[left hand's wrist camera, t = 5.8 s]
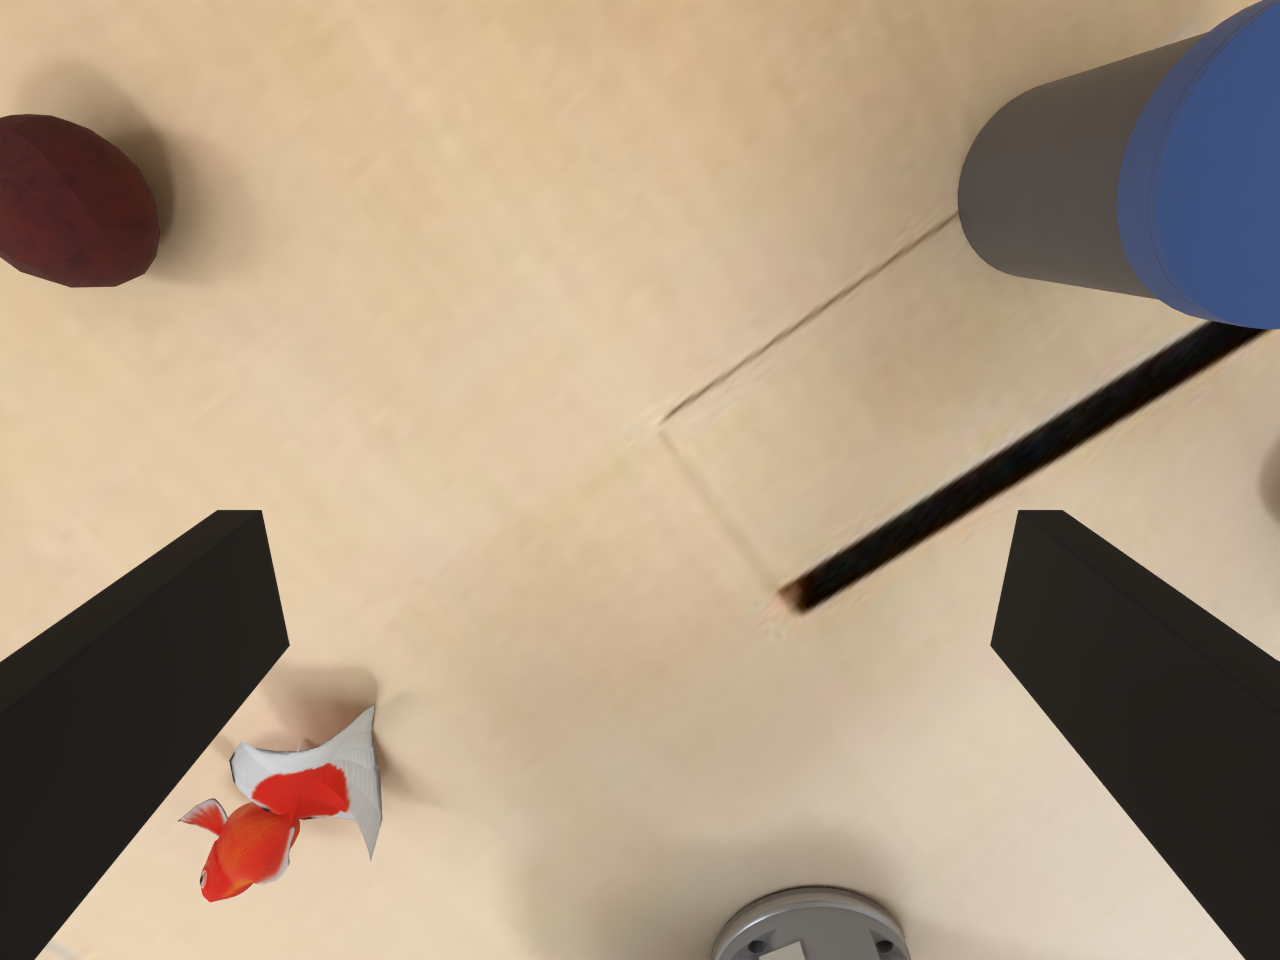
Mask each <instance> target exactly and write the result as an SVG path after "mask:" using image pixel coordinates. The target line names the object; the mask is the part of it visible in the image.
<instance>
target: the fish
mask: <svg viewBox="0 0 1280 960" xmlns="http://www.w3.org/2000/svg"><path fill="white" fill-rule="evenodd" d="M374 709H375V704H374V705H372V706H371V707H369V708H368V709H366V710H365V711H364V712H363V713H362V714H360V715H359V716H358V717H357V718H356V719H355V720H354V721H353V722H352V723H351V724H350V725H349V726H348V727H347V728H345V729H344V730H342V731H341V732H340V733H338V734H337V735H336V736H334V737H333V738H331V739H330V740H328V741H327V742H325V743H324V744H322V745H321V746H319V747H318V748H313V749H308V750H304V751H300V748H301V744H302V741H301V742H300V744H299V746H298V749H297V751H296V752H292V751H271V750H265V749H259V748H254V747H252V746H250V745H248V744H246V743H243V742H240V744H239V746H238V747H237V749H236V750H235V752H234V754H233V755H232V757H231V759H230V760H229V761H230V766H231V771H232V776H233V781H234V783H235V784H236V786H237V787H238V788H239V790H240V791H241V792H242V793H243V794H244V795H245V796H247V797H248V798H249V799H250V800H251V801H253V802H250V803H247V804H245V805H243V806H241V807H240V808H238V809H237V810H235V811H234V812H233V813H232V814H231V815H230V816H229V818H228V817H227V815H226V813H225V811H224V809H223V808H222V806H221V805H220V803H219V802H218V801H217V800H216V799H213V798H212V799H209V800H207V801H205V802H203V803H201V804H198V805H196V806H195V807H194V808H193V809H191V810H190V811H189V812H188V813H187V814H186V815H185V816H183V817H182V818H181V819H180V820H178V821H182V822H185V823H188V824H193V825H197V826H199V827H202V828H205V829H208V830H209V831H211V832H213V833H214V834H216V835H217V836H219V838H218V840H216V841H215V842H214V844H213V846H212V849H211V852H210V854H209V857H208V859H207V861H206V864H205V866H204V868H203V870H202V873H201V878H200V886H201V889H202V894H203V896H204V897H205V898H206V899H207V900H208V901H209V902H214V901H218V900H223V899H227V898H230V897H234V896H237V895H239V894H241V893H242V892H244V891H245V890H247V889H248V888H249V887H250V886H251V885H252V884H253V883H256V884H259V885H260V884H268V883H271V882H274V881H276V880H277V879H278V878H279V877H281V876H282V874H283V873H284V871H285V870H286V868H287V867H288V865H289V862H290V861H289V851H290V849H291V847H292V845H293V844H294V842H295V840H296V838H297V836H298V834H299V831H300V821H299V819H303V820H305V819H313V818H321V817H328V816H332V817H338V818H344V819H352V820H353V821H354V822H355V823H356V824H357V825H358V827H359V829H360V830H361V832H362V834H363V836H364V839H365V842H366V845H367V848H368V851H369V856H370V862H371V858H372V855H373V851H374V847H375V844H376V840H377V837H378V833H379V829H380V826H381V822H382V804H381V784H380V774H379V769H378V763H377V758H376V753H375V747H374V741H373V735H372V726H373V720H374Z"/></svg>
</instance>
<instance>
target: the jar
mask: <svg viewBox="0 0 1280 960" xmlns="http://www.w3.org/2000/svg"><path fill="white" fill-rule="evenodd" d="M1207 33H1208V32H1207ZM1207 33H1204V34H1201V35H1198V36H1195V37H1192V38H1188V39H1185V40H1182V41H1179V42H1176V43H1173V44H1170V45H1167V46H1163V47H1160V48H1157V49H1154V50H1151V51H1148V52H1145V53H1142V54H1138V55H1135V56H1132V57H1129V58H1126V59H1123V60H1120V61H1117V62H1114V63H1110V64H1107V65H1104V66H1101V67H1098V68H1095V69H1092V70H1089V71H1085V72H1082V73H1079V74H1076V75H1073V76H1070V77H1067V78H1064V79H1060V80H1057V81H1054V82H1051V83H1048V84H1045V85H1042V86H1039V87H1036V88H1033V89H1031V90H1029V91H1027V92H1025V93H1023V94H1021V95H1019V96H1018V97H1016V98H1014V99H1013V100H1011V101H1010V102H1009V103H1007V104H1006V105H1005V106H1004V107H1002V108H1001V109H1000V110H999V111H998V112H997V113H996V114H995V115H994V116H993V117H992V118H991V119H990V120H989V121H988V123H987V124H986V125H985V126H984V127H983V129H982V130H981V131H980V133H979V135H978V136H977V138H976V139H975V141H974V143H973V145H972V147H971V149H970V151H969V153H968V155H967V157H966V160H965V163H964V166H963V169H962V173H961V177H960V182H959V190H958V208H959V215H960V220H961V224H962V228H963V230H964V233H965V235H966V237H967V239H968V241H969V243H970V244H971V246H972V248H973V249H974V250H975V251H976V253H977V254H978V255H979V256H980V257H981V258H982V259H983V260H984V261H986V262H987V263H988V264H989V265H991V266H993V267H994V268H996V269H998V270H1000V271H1002V272H1005V273H1007V274H1011V275H1015V276H1019V277H1025V278H1031V279H1037V280H1044V281H1050V282H1056V283H1062V284H1068V285H1074V286H1080V287H1086V288H1092V289H1098V290H1104V291H1111V292H1117V293H1123V294H1129V295H1135V296H1141V297H1147V298H1153V299H1158V298H1157V297H1156V296H1155V295H1154V294H1152V293H1151V292H1150V291H1149V290H1148V289H1147V288H1146V287H1145V286H1144V284H1143V283H1142V282H1141V280H1140V279H1139V278H1138V277H1137V275H1136V274H1135V272H1134V270H1133V268H1132V267H1131V265H1130V263H1129V261H1128V259H1127V257H1126V254H1125V251H1124V248H1123V245H1122V242H1121V238H1120V233H1119V227H1118V220H1117V191H1118V181H1119V176H1120V170H1121V165H1122V160H1123V157H1124V154H1125V151H1126V148H1127V145H1128V142H1129V139H1130V136H1131V134H1132V132H1133V129H1134V127H1135V125H1136V123H1137V120H1138V118H1139V116H1140V114H1141V112H1142V111H1143V109H1144V107H1145V105H1146V104H1147V102H1148V100H1149V98H1150V97H1151V95H1152V94H1153V92H1154V91H1155V89H1156V88H1157V87H1158V85H1159V84H1160V82H1161V81H1162V79H1163V78H1164V77H1165V75H1166V74H1167V73H1168V72H1169V71H1170V69H1171V68H1172V67H1173V66H1174V65H1175V64H1176V63H1177V61H1178V60H1179V59H1180V58H1181V57H1182V56H1183V55H1184V54H1185V53H1186V52H1187V51H1188V50H1189V49H1190V48H1191V47H1192V46H1193V45H1194V44H1195V43H1196V42H1198V41H1199V40H1200V39H1201V38H1202V37H1203V36H1205V35H1206V34H1207Z"/></svg>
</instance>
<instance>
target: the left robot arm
mask: <svg viewBox="0 0 1280 960" xmlns="http://www.w3.org/2000/svg"><path fill="white" fill-rule="evenodd" d="M289 646H290V645H289V640H288V635H287V630H286V625H285V621H284V616H283V611H282V606H281V601H280V596H279V592H278V587H277V582H276V577H275V572H274V568H273V563H272V558H271V553H270V548H269V543H268V539H267V534H266V529H265V524H264V519H263V514H262V510H217V511H215V512H214V513H213V514H211V515H210V516H208V517H207V518H205V519H204V520H203V521H201V522H200V523H198V524H197V525H195V526H194V527H193V528H191V529H190V530H188V531H187V532H185V533H184V534H183V535H181V536H180V537H178V538H177V539H175V540H174V541H173V542H171V543H170V544H168V545H167V546H165V547H164V548H163V549H161V550H160V551H158V552H157V553H156V554H154V555H153V556H151V557H150V558H148V559H147V560H146V561H144V562H143V563H141V564H140V565H138V566H137V567H136V568H134V569H133V570H131V571H130V572H128V573H127V574H126V575H124V576H123V577H121V578H120V579H118V580H117V581H116V582H114V583H113V584H111V585H110V586H108V587H107V588H106V589H104V590H103V591H101V592H100V593H98V594H97V595H96V596H94V597H93V598H91V599H90V600H88V601H87V602H86V603H84V604H83V605H81V606H80V607H78V608H77V609H76V610H74V611H73V612H71V613H70V614H68V615H67V616H66V617H64V618H63V619H61V620H60V621H58V622H57V623H56V624H54V625H53V626H51V627H50V628H48V629H47V630H46V631H44V632H43V633H41V634H40V635H38V636H37V637H36V638H34V639H33V640H31V641H30V642H28V643H27V644H26V645H24V646H23V647H21V648H20V649H18V650H17V651H16V652H14V653H13V654H11V655H10V656H8V657H7V658H6V659H4V660H3V661H1V662H0V960H35V958H36V957H37V956H38V955H39V954H40V952H41V951H42V950H43V949H44V947H45V946H46V945H47V944H48V942H49V941H50V940H51V939H52V938H53V936H54V935H55V934H56V933H57V931H58V930H59V929H60V928H61V926H62V925H63V924H64V923H65V922H66V920H67V919H68V918H69V917H70V915H71V914H72V913H73V912H74V910H75V909H76V908H77V907H78V906H79V904H80V903H81V902H82V901H83V899H84V898H85V897H86V896H87V894H88V893H89V892H90V891H91V890H92V888H93V887H94V886H95V885H96V883H97V882H98V881H99V880H100V878H101V877H102V876H103V875H104V874H105V872H106V871H107V870H108V869H109V867H110V866H111V865H112V864H113V862H114V861H115V860H116V859H117V858H118V856H119V855H120V854H121V853H122V851H123V850H124V849H125V848H126V846H127V845H128V844H129V843H130V841H131V840H132V839H133V838H134V837H135V835H136V834H137V833H138V832H139V830H140V829H141V828H142V827H143V825H144V824H145V823H146V822H147V821H148V819H149V818H150V817H151V816H152V814H153V813H154V812H155V811H156V809H157V808H158V807H159V806H160V805H161V803H162V802H163V801H164V800H165V798H166V797H167V796H168V795H169V793H170V792H171V791H172V790H173V789H174V787H175V786H176V785H177V784H178V782H179V781H180V780H181V779H182V777H183V776H184V775H185V774H186V773H187V771H188V770H189V769H190V768H191V766H192V765H193V764H194V763H195V761H196V760H197V759H198V758H199V757H200V755H201V754H202V753H203V752H204V750H205V749H206V748H207V747H208V745H209V744H210V743H211V742H212V741H213V739H214V738H215V737H216V736H217V734H218V733H219V732H220V731H221V729H222V728H223V727H224V726H225V725H226V723H227V722H228V721H229V720H230V718H231V717H232V716H233V715H234V713H235V712H236V711H237V710H238V709H239V707H240V706H241V705H242V704H243V702H244V701H245V700H246V699H247V697H248V696H249V695H250V694H251V693H252V691H253V690H254V689H255V688H256V686H257V685H258V684H259V683H260V681H261V680H262V679H263V678H264V677H265V675H266V674H267V673H268V672H269V670H270V669H271V668H272V667H273V665H274V664H275V663H276V662H277V661H278V659H279V658H280V657H281V656H282V654H283V653H284V652H285V651H286V649H287V648H288V647H289ZM990 646H991V647H992V648H993V649H994V651H995V652H996V653H997V654H998V656H999V657H1000V658H1001V659H1002V661H1003V662H1004V663H1005V664H1006V665H1007V667H1008V668H1009V669H1010V670H1011V672H1012V673H1013V674H1014V675H1015V677H1016V678H1017V679H1018V680H1019V681H1020V683H1021V684H1022V685H1023V686H1024V688H1025V689H1026V690H1027V691H1028V693H1029V694H1030V695H1031V696H1032V697H1033V699H1034V700H1035V701H1036V702H1037V704H1038V705H1039V706H1040V707H1041V709H1042V710H1043V711H1044V712H1045V713H1046V715H1047V716H1048V717H1049V718H1050V720H1051V721H1052V722H1053V723H1054V725H1055V726H1056V727H1057V728H1058V729H1059V731H1060V732H1061V733H1062V734H1063V736H1064V737H1065V738H1066V739H1067V741H1068V742H1069V743H1070V744H1071V745H1072V747H1073V748H1074V749H1075V750H1076V752H1077V753H1078V754H1079V755H1080V757H1081V758H1082V759H1083V760H1084V761H1085V763H1086V764H1087V765H1088V766H1089V768H1090V769H1091V770H1092V771H1093V773H1094V774H1095V775H1096V776H1097V777H1098V779H1099V780H1100V781H1101V782H1102V784H1103V785H1104V786H1105V787H1106V789H1107V790H1108V791H1109V792H1110V793H1111V795H1112V796H1113V797H1114V798H1115V800H1116V801H1117V802H1118V803H1119V805H1120V806H1121V807H1122V808H1123V809H1124V811H1125V812H1126V813H1127V814H1128V816H1129V817H1130V818H1131V819H1132V821H1133V822H1134V823H1135V824H1136V825H1137V827H1138V828H1139V829H1140V830H1141V832H1142V833H1143V834H1144V835H1145V837H1146V838H1147V839H1148V840H1149V842H1150V843H1151V844H1152V845H1153V846H1154V848H1155V849H1156V850H1157V851H1158V853H1159V854H1160V855H1161V856H1162V858H1163V859H1164V860H1165V861H1166V862H1167V864H1168V865H1169V866H1170V867H1171V869H1172V870H1173V871H1174V872H1175V874H1176V875H1177V876H1178V877H1179V878H1180V880H1181V881H1182V882H1183V883H1184V885H1185V886H1186V887H1187V888H1188V890H1189V891H1190V892H1191V893H1192V894H1193V896H1194V897H1195V898H1196V899H1197V901H1198V902H1199V903H1200V904H1201V906H1202V907H1203V908H1204V909H1205V910H1206V912H1207V913H1208V914H1209V915H1210V917H1211V918H1212V919H1213V920H1214V922H1215V923H1216V924H1217V925H1218V926H1219V928H1220V929H1221V930H1222V931H1223V933H1224V934H1225V935H1226V936H1227V938H1228V939H1229V940H1230V941H1231V942H1232V944H1233V945H1234V946H1235V947H1236V949H1237V950H1238V951H1239V952H1240V954H1241V955H1242V956H1243V957H1244V958H1245V960H1280V661H1278V660H1276V659H1274V658H1273V657H1272V656H1270V655H1269V654H1267V653H1266V652H1264V651H1263V650H1262V649H1260V648H1259V647H1257V646H1256V645H1254V644H1253V643H1252V642H1250V641H1249V640H1247V639H1246V638H1244V637H1243V636H1242V635H1240V634H1239V633H1237V632H1236V631H1234V630H1233V629H1232V628H1230V627H1229V626H1227V625H1226V624H1224V623H1223V622H1222V621H1220V620H1219V619H1217V618H1216V617H1214V616H1213V615H1212V614H1210V613H1209V612H1207V611H1206V610H1204V609H1203V608H1202V607H1200V606H1199V605H1197V604H1196V603H1194V602H1193V601H1192V600H1190V599H1189V598H1187V597H1186V596H1184V595H1183V594H1182V593H1180V592H1179V591H1177V590H1176V589H1174V588H1173V587H1172V586H1170V585H1169V584H1167V583H1166V582H1164V581H1163V580H1162V579H1160V578H1159V577H1157V576H1156V575H1154V574H1153V573H1152V572H1150V571H1149V570H1147V569H1146V568H1144V567H1143V566H1142V565H1140V564H1139V563H1137V562H1136V561H1134V560H1133V559H1132V558H1130V557H1129V556H1127V555H1126V554H1124V553H1123V552H1122V551H1120V550H1119V549H1117V548H1116V547H1115V546H1113V545H1112V544H1110V543H1109V542H1107V541H1106V540H1105V539H1103V538H1102V537H1100V536H1099V535H1097V534H1096V533H1095V532H1093V531H1092V530H1090V529H1089V528H1087V527H1086V526H1085V525H1083V524H1082V523H1080V522H1079V521H1077V520H1076V519H1075V518H1073V517H1072V516H1070V515H1069V514H1067V513H1066V512H1065V511H1063V510H1018V514H1017V519H1016V524H1015V529H1014V534H1013V539H1012V543H1011V548H1010V553H1009V558H1008V563H1007V568H1006V572H1005V577H1004V582H1003V587H1002V592H1001V596H1000V601H999V606H998V611H997V616H996V621H995V625H994V630H993V635H992V640H991V645H990ZM712 960H911V959H910V955H909V952H908V949H907V946H906V943H905V941H904V938H903V935H902V932H901V930H900V928H899V926H898V924H897V923H896V921H895V920H894V919H893V917H892V916H891V915H890V914H889V913H888V912H887V911H886V910H885V909H884V908H882V907H881V906H879V905H878V904H877V903H875V902H873V901H871V900H870V899H867V898H865V897H863V896H861V895H858V894H855V893H852V892H848V891H844V890H839V889H832V888H801V889H793V890H788V891H784V892H780V893H776V894H773V895H770V896H767V897H765V898H762V899H760V900H758V901H756V902H754V903H752V904H750V905H749V906H747V907H746V908H744V909H742V910H741V911H740V912H738V913H737V914H736V915H735V916H734V917H733V918H732V919H730V921H729V922H728V923H727V924H726V925H725V926H724V928H723V929H722V930H721V932H720V934H719V935H718V937H717V939H716V942H715V944H714V948H713V952H712Z"/></svg>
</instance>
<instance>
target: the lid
mask: <svg viewBox="0 0 1280 960" xmlns="http://www.w3.org/2000/svg"><path fill="white" fill-rule="evenodd" d="M1117 220H1118V227H1119V233H1120V238H1121V242H1122V245H1123V248H1124V251H1125V254H1126V257H1127V259H1128V261H1129V263H1130V265H1131V267H1132V268H1133V270H1134V272H1135V274H1136V275H1137V277H1138V278H1139V279H1140V280H1141V282H1142V283H1143V284H1144V286H1145V287H1146V288H1147V289H1148V290H1149V291H1150V292H1151V293H1152V294H1154V295H1155V296H1156V297H1157V298H1158V299H1159V300H1161V301H1162V302H1164V303H1165V304H1167V305H1168V306H1170V307H1172V308H1173V309H1176V310H1178V311H1180V312H1183V313H1185V314H1187V315H1190V316H1194V317H1198V318H1202V319H1206V320H1211V321H1217V322H1222V323H1227V324H1233V325H1238V326H1244V327H1250V328H1259V329H1280V0H1262V1H1260V2H1258V3H1256V4H1254V5H1252V6H1249V7H1247V8H1245V9H1243V10H1241V11H1240V12H1238V13H1236V14H1235V15H1233V16H1231V17H1230V18H1228V19H1226V20H1225V21H1223V22H1222V23H1220V24H1219V25H1218V26H1216V27H1215V28H1214V29H1212V30H1211V31H1210V32H1208V33H1207V34H1206V35H1205V36H1203V37H1202V38H1201V39H1200V40H1199V41H1198V42H1196V43H1195V44H1194V45H1193V46H1192V47H1191V48H1190V49H1189V50H1188V51H1187V52H1186V53H1185V54H1184V55H1183V56H1182V57H1181V58H1180V59H1179V60H1178V61H1177V63H1176V64H1175V65H1174V66H1173V67H1172V68H1171V69H1170V71H1169V72H1168V73H1167V74H1166V75H1165V77H1164V78H1163V79H1162V81H1161V82H1160V84H1159V85H1158V87H1157V88H1156V89H1155V91H1154V92H1153V94H1152V95H1151V97H1150V98H1149V100H1148V102H1147V104H1146V105H1145V107H1144V109H1143V111H1142V112H1141V114H1140V116H1139V118H1138V120H1137V123H1136V125H1135V127H1134V129H1133V132H1132V134H1131V136H1130V139H1129V142H1128V145H1127V148H1126V151H1125V154H1124V157H1123V160H1122V165H1121V170H1120V176H1119V181H1118V191H1117Z"/></svg>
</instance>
